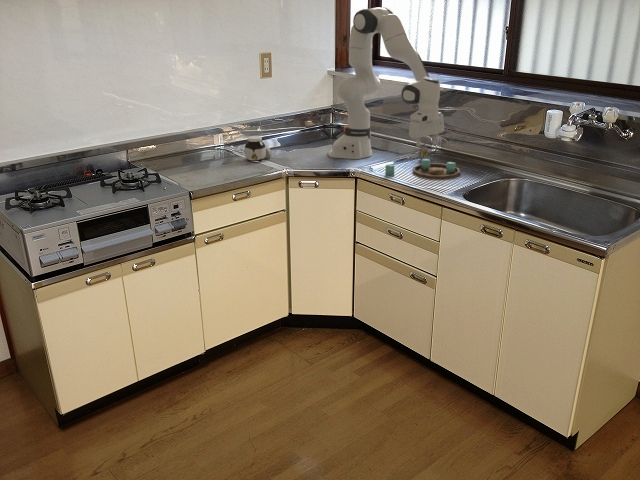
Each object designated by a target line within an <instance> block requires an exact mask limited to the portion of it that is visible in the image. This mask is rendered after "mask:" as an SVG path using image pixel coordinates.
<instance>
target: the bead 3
mask: <svg viewBox="0 0 640 480" xmlns="http://www.w3.org/2000/svg"><path fill="white" fill-rule="evenodd" d="M446 164H447V165H446V173H447V174H454V173H455V167H456V164H457V163H456V162H452V161H448V162H446Z"/></svg>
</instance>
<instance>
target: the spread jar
mask: <svg viewBox="0 0 640 480" xmlns="http://www.w3.org/2000/svg"><path fill="white" fill-rule="evenodd" d="M244 156H245V157H244V158H245V160H247V161H248V162H250V161H261V162H263V161H264V160H265V159H271V158H272V156H273V152H272V150H271V148H270V147H269V146H267V145H266V144H265V142H264V141H263V140H262V136H260V135H251V136H248V137H247V141H246V142H245V145H244ZM262 160H263V161H262Z"/></svg>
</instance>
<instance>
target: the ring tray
mask: <svg viewBox="0 0 640 480" xmlns="http://www.w3.org/2000/svg"><path fill="white" fill-rule="evenodd" d="M446 165H447V163H440V162H439V163H437V162H435V163H433V162H430V168H429V169H428V171H423V170H421V164H420V163H419V164H417V165H414V166H412V174H413V175H415V176H416V177H418V178H422V179H429V180H450V179H455V178H457V177H459V176H460V175H461V170H460V168H459V167H457V166H455V173H454V174H447V173H446Z"/></svg>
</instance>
